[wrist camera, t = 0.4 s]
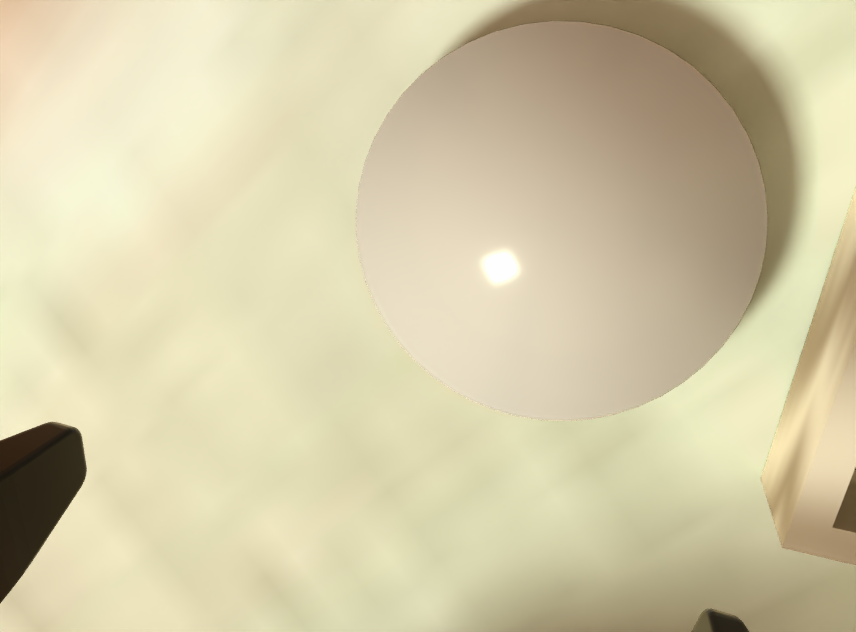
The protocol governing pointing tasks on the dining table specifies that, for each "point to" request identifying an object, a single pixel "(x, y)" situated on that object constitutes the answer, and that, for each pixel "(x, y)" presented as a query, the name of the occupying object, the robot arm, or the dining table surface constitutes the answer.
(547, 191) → the saucer
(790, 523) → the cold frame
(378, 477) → the dining table surface
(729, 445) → the dining table surface
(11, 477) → the robot arm
